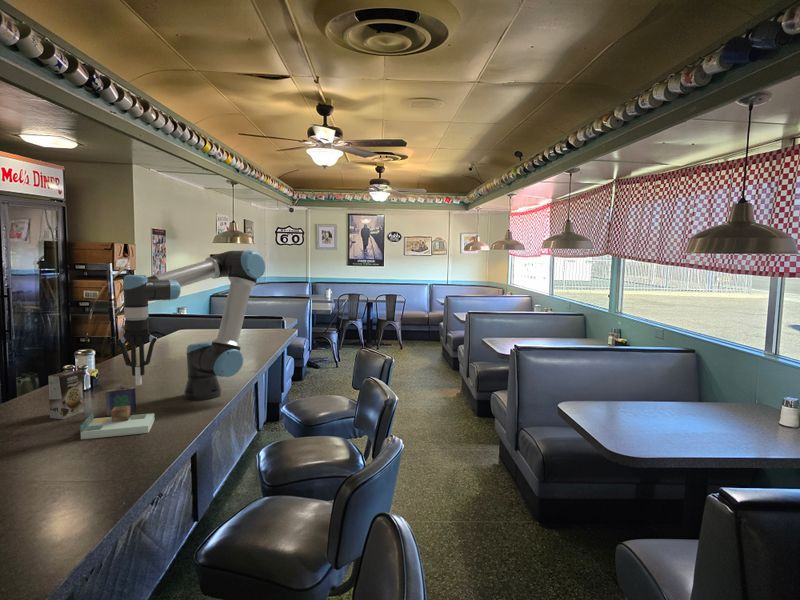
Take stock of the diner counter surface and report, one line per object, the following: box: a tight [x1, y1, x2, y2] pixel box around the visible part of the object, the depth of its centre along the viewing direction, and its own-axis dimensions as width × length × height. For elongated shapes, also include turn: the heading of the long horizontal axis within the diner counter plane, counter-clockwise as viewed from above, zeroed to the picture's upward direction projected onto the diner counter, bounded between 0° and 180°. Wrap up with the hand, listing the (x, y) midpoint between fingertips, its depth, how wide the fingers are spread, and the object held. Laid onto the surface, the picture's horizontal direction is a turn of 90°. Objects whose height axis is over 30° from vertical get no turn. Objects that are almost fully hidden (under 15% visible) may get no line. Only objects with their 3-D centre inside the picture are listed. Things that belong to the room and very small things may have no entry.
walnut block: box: [110, 406, 132, 422], centre depth 175 cm, size 5×5×4 cm
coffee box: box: [47, 370, 84, 420], centre depth 186 cm, size 9×6×16 cm
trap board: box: [79, 412, 156, 440], centre depth 172 cm, size 20×14×4 cm
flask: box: [105, 383, 137, 417], centre depth 189 cm, size 10×3×12 cm, turn 121°
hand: (138, 384), depth 177 cm, fingers closed
